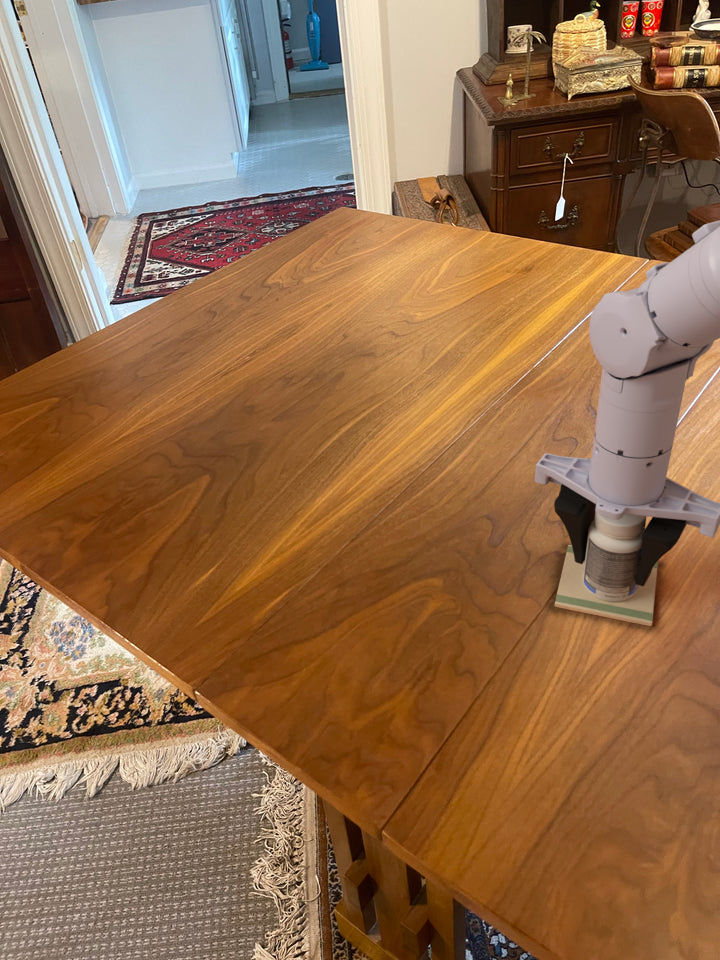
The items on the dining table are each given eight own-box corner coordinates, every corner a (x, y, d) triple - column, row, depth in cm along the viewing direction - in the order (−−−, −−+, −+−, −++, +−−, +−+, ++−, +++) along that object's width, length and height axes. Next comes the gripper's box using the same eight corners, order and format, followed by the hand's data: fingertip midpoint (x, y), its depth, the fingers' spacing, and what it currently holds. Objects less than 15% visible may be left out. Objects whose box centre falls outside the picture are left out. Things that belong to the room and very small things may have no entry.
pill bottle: (643, 602, 63) (659, 528, 58) (587, 604, 63) (598, 530, 58) (630, 564, 67) (643, 491, 62) (577, 566, 67) (586, 493, 62)
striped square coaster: (657, 563, 67) (658, 559, 67) (651, 626, 61) (652, 622, 61) (568, 547, 70) (568, 543, 70) (554, 606, 64) (554, 603, 64)
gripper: (522, 438, 57) (515, 565, 65) (719, 494, 50) (684, 629, 58) (559, 396, 62) (548, 520, 70) (745, 442, 54) (709, 575, 62)
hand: (611, 567), depth 64 cm, fingers closed on pill bottle, 5 cm apart
